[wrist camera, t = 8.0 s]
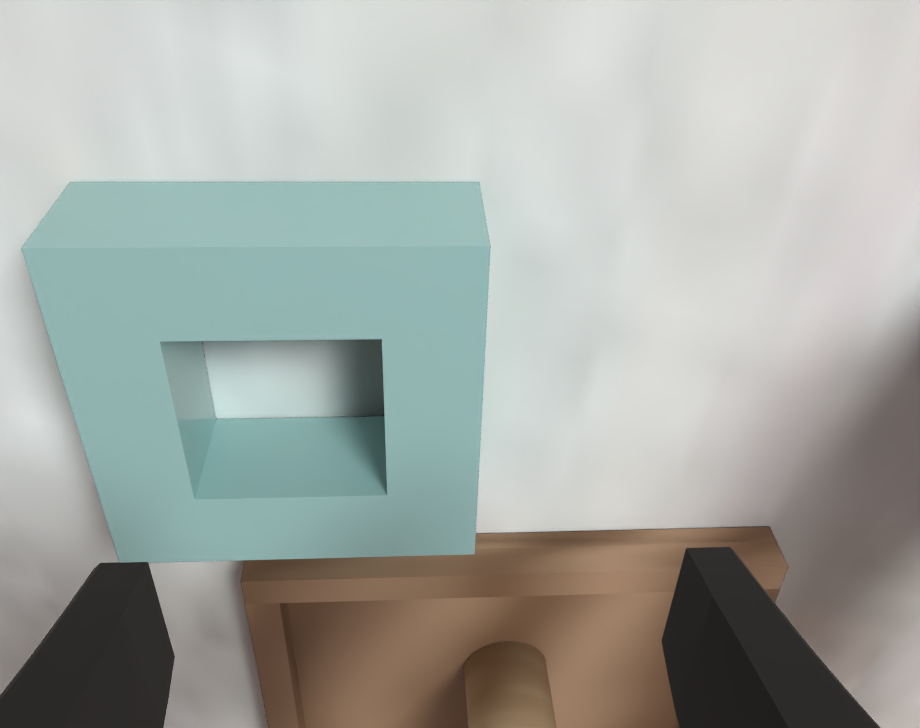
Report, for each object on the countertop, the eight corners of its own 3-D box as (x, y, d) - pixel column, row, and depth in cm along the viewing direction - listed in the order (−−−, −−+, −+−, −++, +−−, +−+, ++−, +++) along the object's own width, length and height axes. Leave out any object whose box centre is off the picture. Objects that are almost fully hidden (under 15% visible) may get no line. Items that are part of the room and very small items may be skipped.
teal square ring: (479, 182, 19) (490, 245, 17) (467, 473, 25) (474, 554, 22) (69, 182, 19) (21, 247, 16) (147, 480, 24) (120, 563, 22)
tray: (769, 526, 27) (788, 566, 25) (696, 738, 34) (708, 778, 33) (248, 539, 26) (240, 581, 24) (286, 754, 33) (281, 796, 32)
